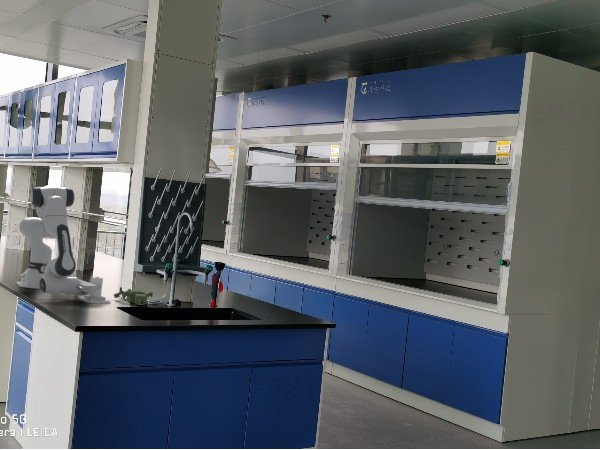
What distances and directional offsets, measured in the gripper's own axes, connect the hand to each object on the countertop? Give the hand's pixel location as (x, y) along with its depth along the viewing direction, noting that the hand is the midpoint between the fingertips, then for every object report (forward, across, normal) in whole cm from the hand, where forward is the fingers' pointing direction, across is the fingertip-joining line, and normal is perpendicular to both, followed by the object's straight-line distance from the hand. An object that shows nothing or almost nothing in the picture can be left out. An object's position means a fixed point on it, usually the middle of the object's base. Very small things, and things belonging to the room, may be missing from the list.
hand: (97, 286), depth 358 cm
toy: (+22, -2, +8) cm, 23 cm away
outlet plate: (-1, 0, +8) cm, 8 cm away
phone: (+1, +8, +8) cm, 11 cm away
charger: (-1, 0, +6) cm, 6 cm away
